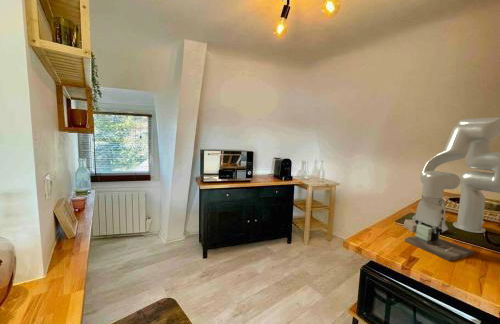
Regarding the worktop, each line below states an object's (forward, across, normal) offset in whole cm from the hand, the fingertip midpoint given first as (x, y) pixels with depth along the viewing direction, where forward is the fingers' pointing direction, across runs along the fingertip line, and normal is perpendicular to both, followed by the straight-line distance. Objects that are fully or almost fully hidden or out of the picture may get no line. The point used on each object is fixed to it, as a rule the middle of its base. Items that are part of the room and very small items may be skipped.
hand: (427, 237), depth 104 cm
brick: (+3, +11, -15) cm, 19 cm away
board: (+3, -4, 0) cm, 5 cm away
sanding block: (+1, 0, 0) cm, 1 cm away
